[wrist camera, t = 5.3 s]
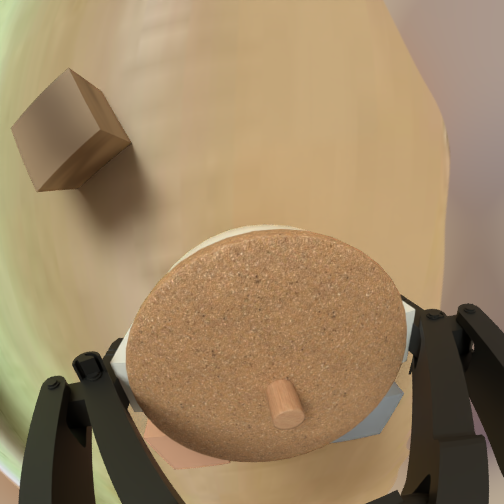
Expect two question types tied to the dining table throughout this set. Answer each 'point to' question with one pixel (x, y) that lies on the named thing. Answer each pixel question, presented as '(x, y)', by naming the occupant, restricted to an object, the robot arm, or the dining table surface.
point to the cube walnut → (68, 134)
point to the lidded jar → (266, 344)
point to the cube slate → (376, 416)
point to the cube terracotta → (177, 451)
